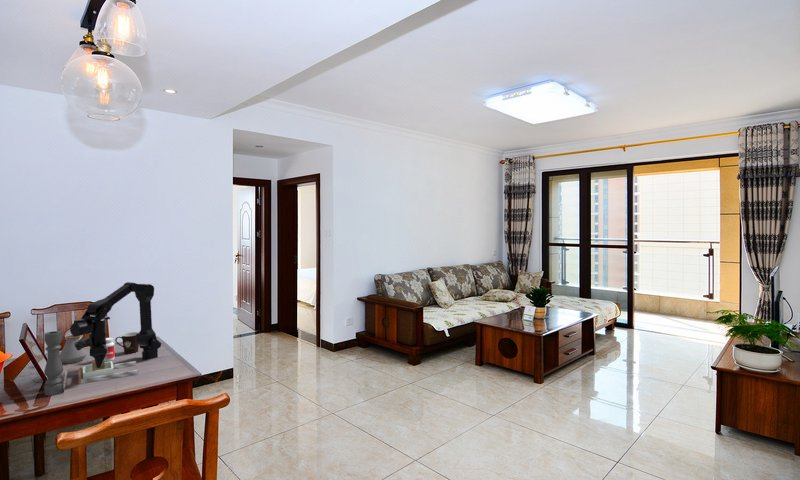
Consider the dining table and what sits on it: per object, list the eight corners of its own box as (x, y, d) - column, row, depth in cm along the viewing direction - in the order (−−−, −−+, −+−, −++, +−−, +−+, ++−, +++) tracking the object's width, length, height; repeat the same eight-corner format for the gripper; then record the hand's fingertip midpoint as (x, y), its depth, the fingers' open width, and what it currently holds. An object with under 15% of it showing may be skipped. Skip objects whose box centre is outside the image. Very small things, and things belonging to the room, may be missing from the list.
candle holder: (51, 390, 177) (50, 330, 177) (67, 389, 178) (66, 330, 177) (40, 395, 171) (39, 334, 170) (56, 395, 172) (55, 334, 171)
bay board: (135, 367, 207) (135, 359, 206) (138, 376, 194) (138, 368, 194) (79, 376, 194) (79, 367, 194) (78, 387, 181) (78, 377, 181)
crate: (112, 369, 199) (112, 361, 199) (113, 377, 190) (113, 368, 190) (83, 374, 193) (83, 365, 193) (83, 382, 183) (82, 373, 183)
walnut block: (92, 372, 192) (92, 359, 192) (104, 371, 194) (104, 358, 194) (92, 375, 188) (92, 362, 188) (104, 373, 191) (104, 360, 191)
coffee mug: (144, 351, 233) (144, 333, 233) (129, 355, 225) (129, 336, 225) (128, 348, 237) (128, 331, 237) (113, 353, 229) (113, 334, 229)
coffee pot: (78, 364, 210) (78, 334, 210) (53, 365, 208) (52, 335, 208) (102, 351, 231) (101, 324, 231) (79, 352, 229) (78, 325, 229)
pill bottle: (100, 362, 213) (99, 341, 213) (100, 359, 218) (99, 338, 218) (114, 360, 216) (114, 339, 216) (114, 357, 221) (114, 336, 221)
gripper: (76, 329, 194) (76, 362, 194) (74, 338, 178) (75, 374, 179) (105, 326, 200) (106, 358, 201) (106, 334, 185) (107, 369, 185)
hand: (98, 365), depth 191 cm, fingers open, 9 cm apart
